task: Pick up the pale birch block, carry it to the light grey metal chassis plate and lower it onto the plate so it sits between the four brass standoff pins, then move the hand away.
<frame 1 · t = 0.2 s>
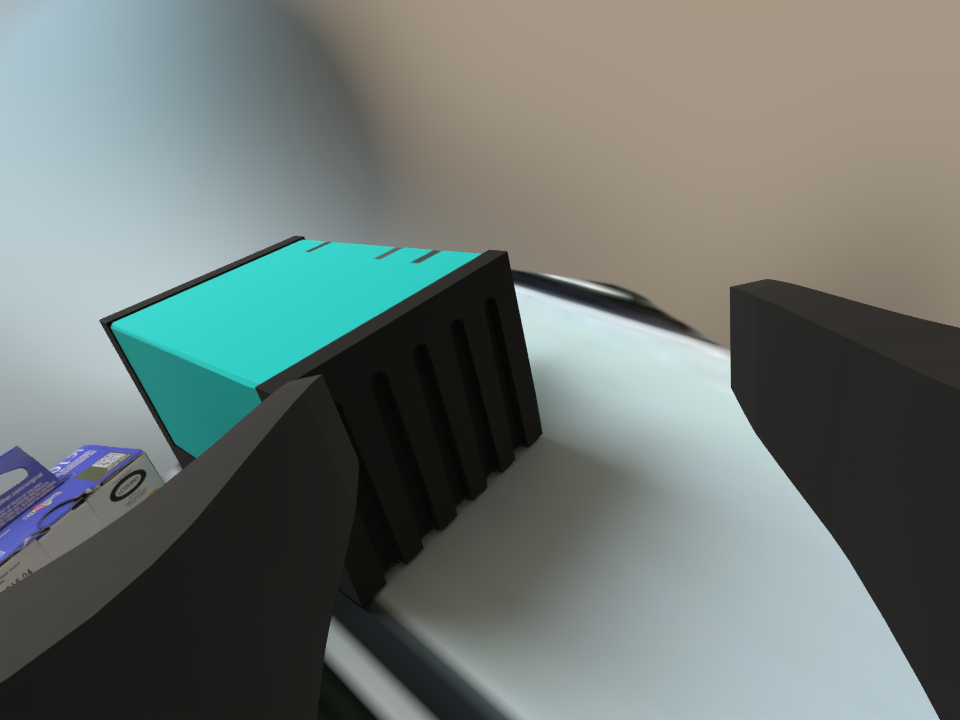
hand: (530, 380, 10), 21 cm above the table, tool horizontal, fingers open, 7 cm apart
electronic device: (388, 436, 49), on the table
ink cartridge box: (154, 667, 33), on the table
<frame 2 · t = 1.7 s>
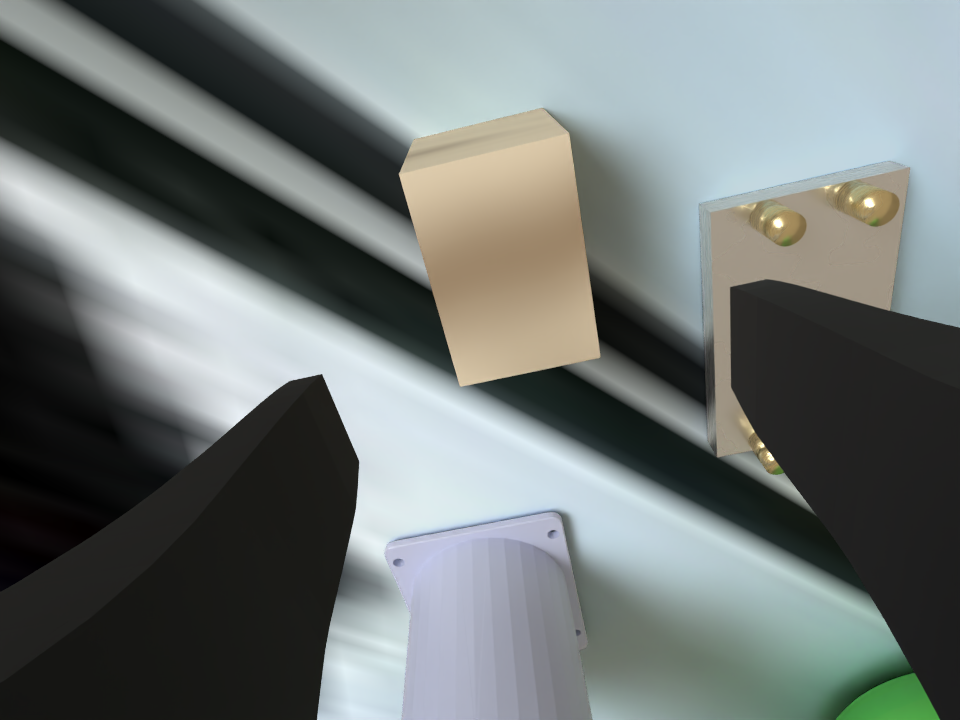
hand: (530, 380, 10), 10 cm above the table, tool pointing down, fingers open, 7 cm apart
birch block: (497, 218, 19), on the table
chassis: (786, 319, 21), on the table
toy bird: (916, 693, 34), on the table
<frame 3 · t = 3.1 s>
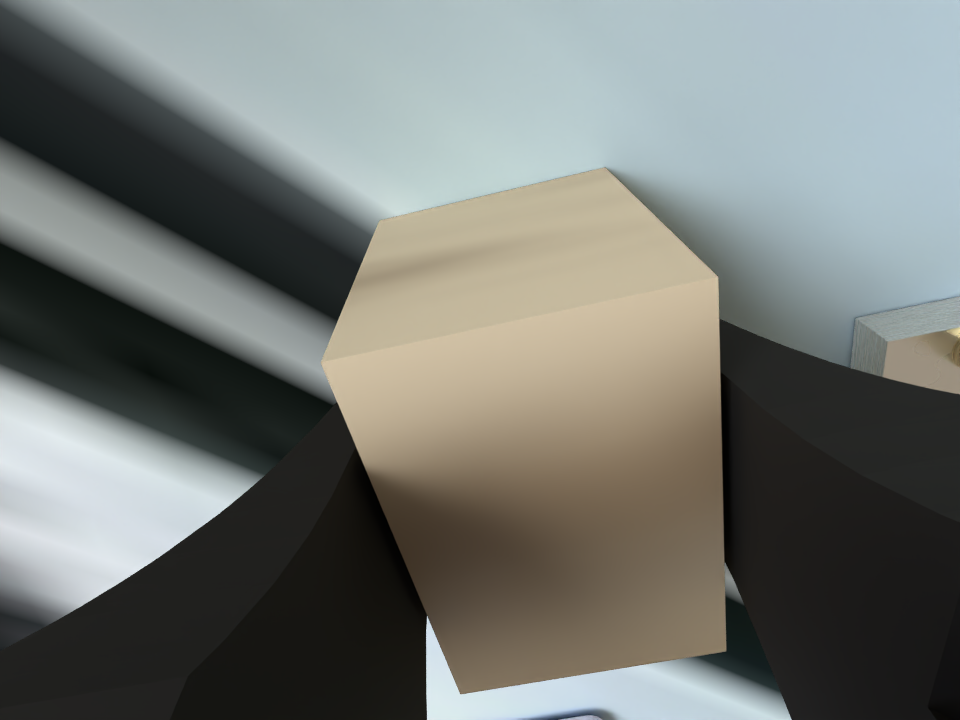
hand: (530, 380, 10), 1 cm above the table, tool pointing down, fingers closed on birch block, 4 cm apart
birch block: (522, 342, 12), on the table, touching gripper
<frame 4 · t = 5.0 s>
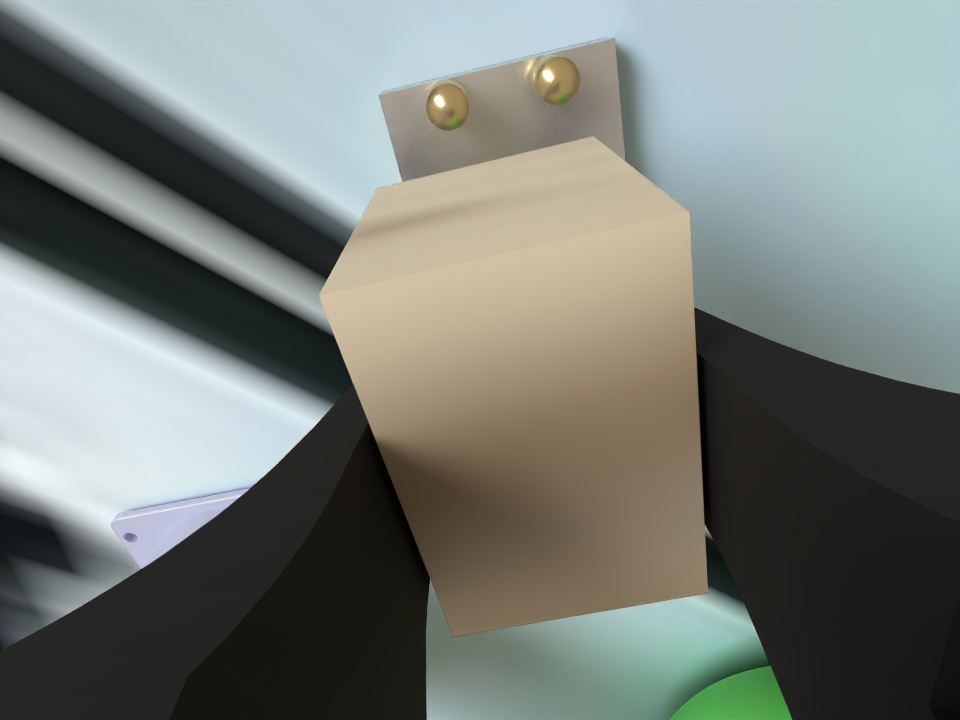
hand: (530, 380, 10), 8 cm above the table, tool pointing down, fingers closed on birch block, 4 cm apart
birch block: (515, 310, 12), point 6 cm above the table, touching gripper
chassis: (525, 243, 18), on the table
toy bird: (772, 692, 31), on the table
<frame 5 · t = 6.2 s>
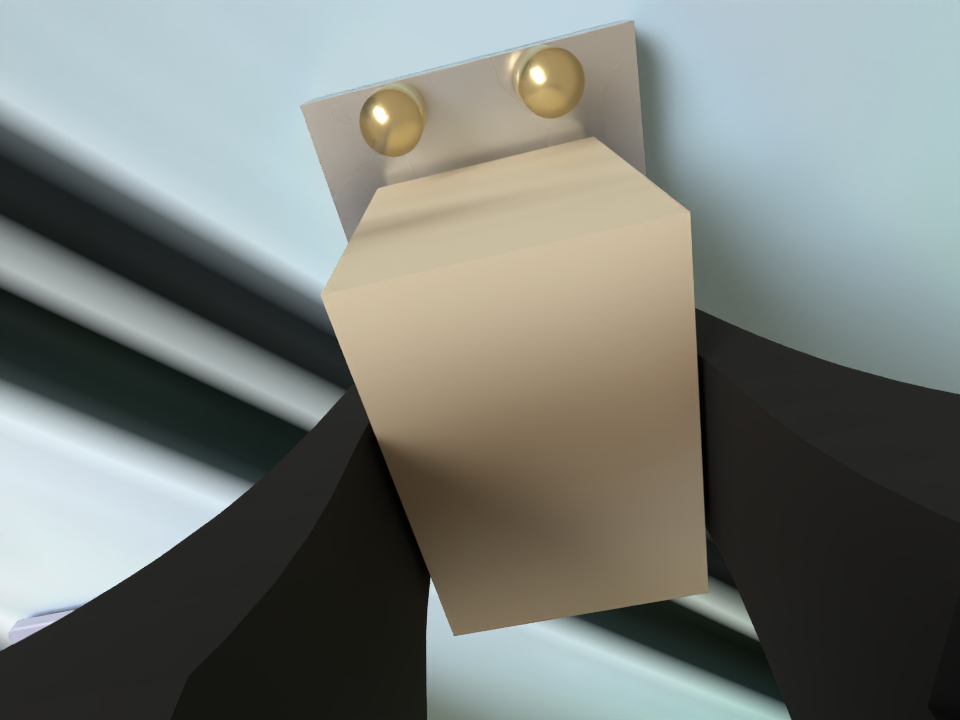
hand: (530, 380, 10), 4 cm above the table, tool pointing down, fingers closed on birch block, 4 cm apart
birch block: (515, 310, 12), point 2 cm above the table, touching gripper
chassis: (513, 297, 14), on the table
when the fingers open (3 cm above the table, at t = 7.1 s): birch block stays where it is, resting on chassis.
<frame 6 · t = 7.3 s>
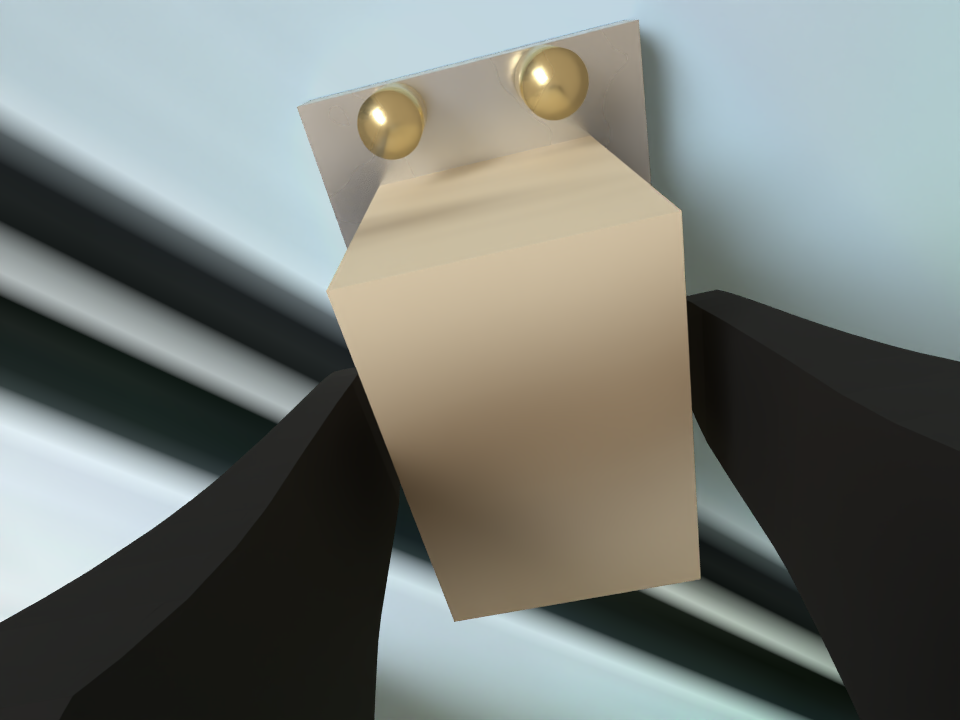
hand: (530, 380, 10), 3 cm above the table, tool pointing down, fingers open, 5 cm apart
birch block: (514, 305, 12), point 1 cm above the table, touching chassis
chassis: (514, 301, 13), on the table
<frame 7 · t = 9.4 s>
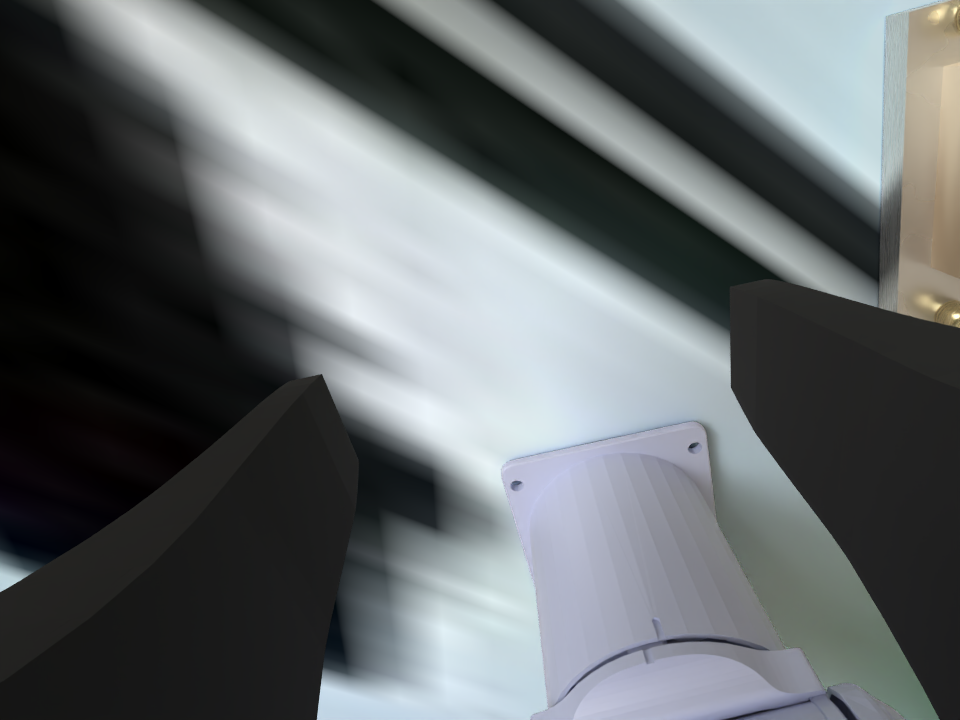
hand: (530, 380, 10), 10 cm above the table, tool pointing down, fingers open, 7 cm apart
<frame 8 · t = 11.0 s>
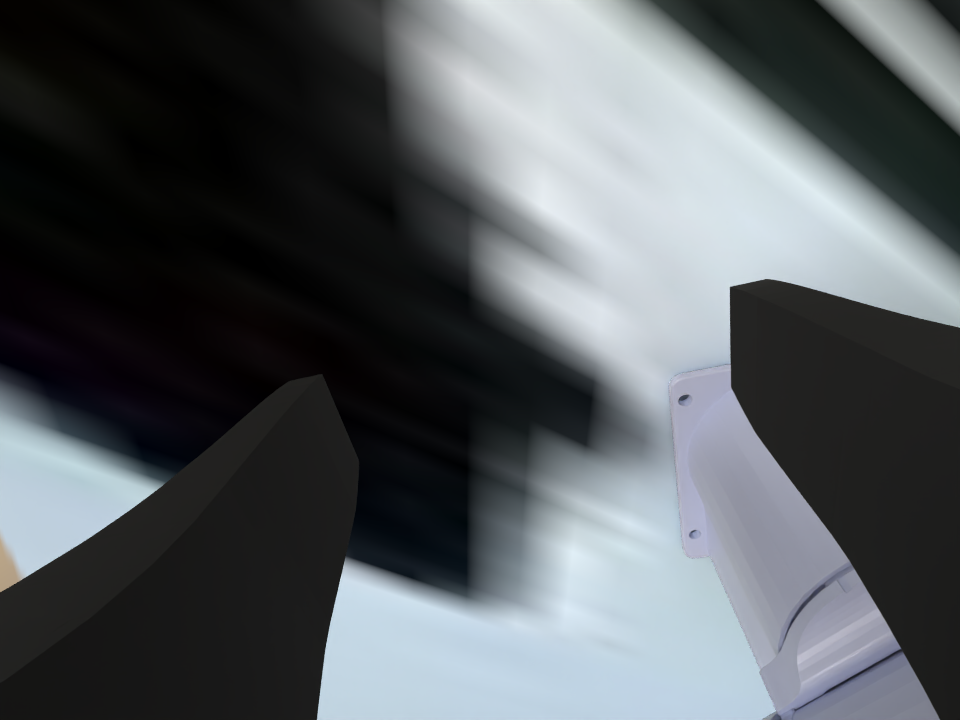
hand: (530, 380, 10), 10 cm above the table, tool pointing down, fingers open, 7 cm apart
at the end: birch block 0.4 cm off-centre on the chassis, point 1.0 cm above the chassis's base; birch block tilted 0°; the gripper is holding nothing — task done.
